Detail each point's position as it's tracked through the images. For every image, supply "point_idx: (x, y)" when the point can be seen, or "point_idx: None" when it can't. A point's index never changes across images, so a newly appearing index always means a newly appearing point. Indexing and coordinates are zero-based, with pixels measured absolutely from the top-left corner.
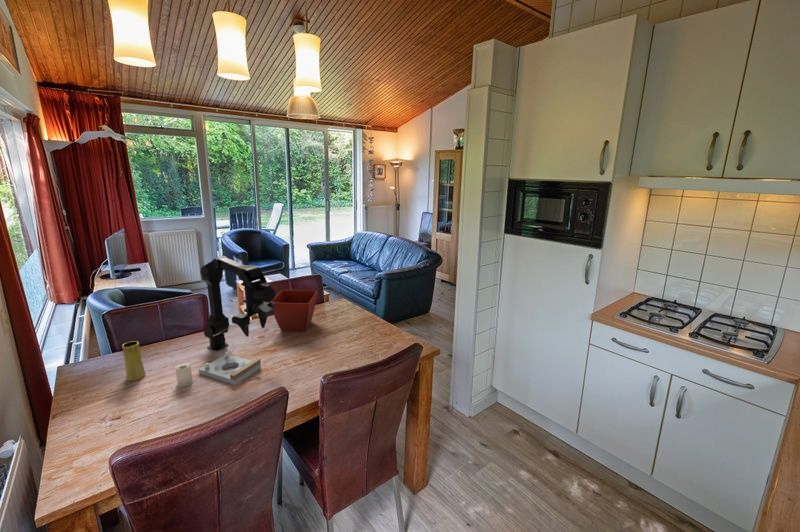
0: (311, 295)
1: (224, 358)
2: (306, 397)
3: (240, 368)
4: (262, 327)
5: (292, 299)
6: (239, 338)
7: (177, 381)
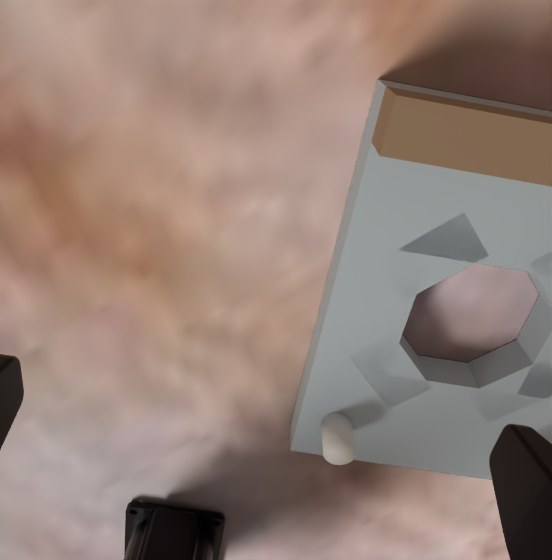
0: None
1: (360, 428)
2: None
3: None
4: (18, 387)
5: None
6: (16, 490)
7: None
